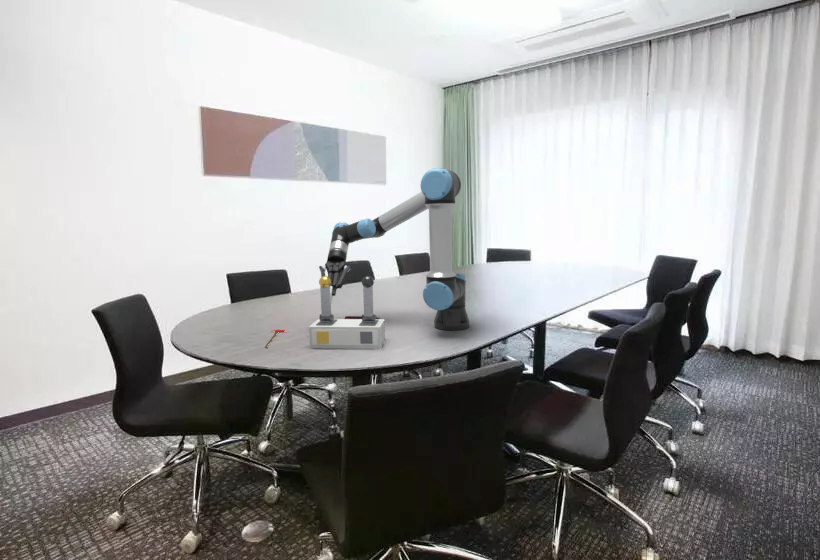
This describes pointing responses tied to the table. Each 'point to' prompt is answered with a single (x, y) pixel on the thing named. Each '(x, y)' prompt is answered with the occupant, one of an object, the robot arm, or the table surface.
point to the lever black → (368, 299)
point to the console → (347, 334)
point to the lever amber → (325, 299)
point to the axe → (274, 336)
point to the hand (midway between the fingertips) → (328, 302)
